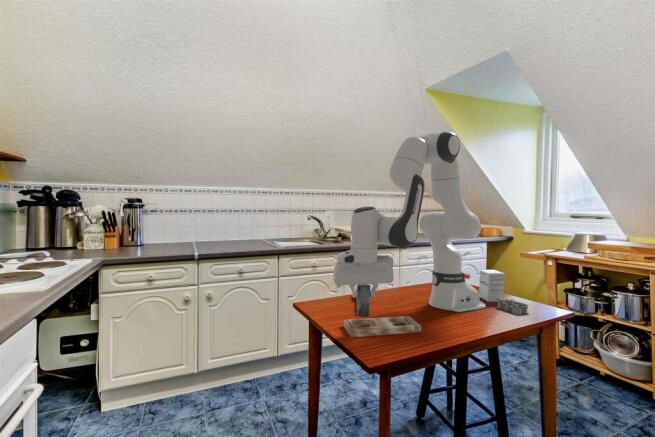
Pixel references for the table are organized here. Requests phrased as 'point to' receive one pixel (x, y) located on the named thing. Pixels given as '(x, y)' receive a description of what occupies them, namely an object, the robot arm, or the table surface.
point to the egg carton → (513, 306)
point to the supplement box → (491, 285)
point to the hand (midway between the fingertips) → (363, 296)
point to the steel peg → (363, 300)
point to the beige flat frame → (381, 326)
